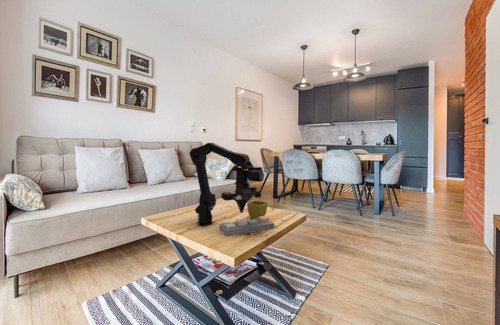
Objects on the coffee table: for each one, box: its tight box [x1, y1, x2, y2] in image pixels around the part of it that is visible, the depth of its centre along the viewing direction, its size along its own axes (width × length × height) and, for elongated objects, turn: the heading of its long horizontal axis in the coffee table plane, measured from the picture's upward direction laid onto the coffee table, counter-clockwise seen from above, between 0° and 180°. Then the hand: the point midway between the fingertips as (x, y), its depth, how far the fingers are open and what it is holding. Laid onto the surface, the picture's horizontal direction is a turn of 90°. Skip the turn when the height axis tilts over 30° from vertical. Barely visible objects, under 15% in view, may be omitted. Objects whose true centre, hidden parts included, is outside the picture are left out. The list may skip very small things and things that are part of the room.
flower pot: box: [246, 200, 268, 220], centre depth 127 cm, size 9×9×9 cm
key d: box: [258, 215, 270, 223], centre depth 115 cm, size 4×4×3 cm
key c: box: [247, 219, 258, 225], centre depth 112 cm, size 4×4×3 cm
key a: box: [224, 222, 235, 228], centre depth 107 cm, size 4×4×3 cm
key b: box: [235, 218, 247, 227], centre depth 110 cm, size 4×4×3 cm
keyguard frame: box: [218, 219, 275, 237], centre depth 111 cm, size 25×10×2 cm, turn 116°
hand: (241, 212), depth 109 cm, fingers closed
